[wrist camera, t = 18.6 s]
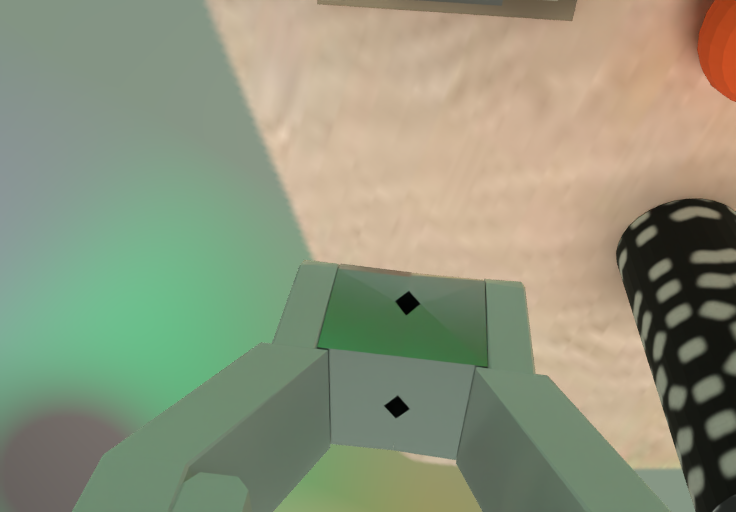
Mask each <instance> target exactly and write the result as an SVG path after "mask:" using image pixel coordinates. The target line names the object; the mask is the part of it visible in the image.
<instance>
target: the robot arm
mask: <svg viewBox="0 0 736 512" xmlns="http://www.w3.org/2000/svg"><path fill="white" fill-rule="evenodd" d="M330 444H338V445H348V446H358V447H368V448H378V449H387V450H396V451H402V452H408V453H414V454H421V455H427V456H434V457H440V458H447V459H453V460H457V461H456V464H457V466H458V468H459V469H460V471H461V473H462V475H463V477H464V478H465V480H466V482H467V484H468V486H469V487H470V489H471V491H472V493H473V495H474V497H475V498H476V500H477V502H478V504H479V506H480V508H481V509H482V511H483V512H671V511H670V510H669V509H668V507H667V506H666V505H665V504H664V503H663V502H662V501H661V500H660V499H659V498H658V497H657V495H656V494H655V493H654V492H653V491H652V490H651V489H650V488H649V487H648V485H647V484H646V483H645V482H644V481H643V480H642V479H641V478H640V477H639V476H638V474H637V473H636V472H635V471H634V470H633V469H632V468H631V467H630V466H629V465H628V463H627V462H626V461H625V460H624V459H623V458H622V457H621V456H620V455H619V454H618V452H617V451H616V450H615V449H614V448H613V447H612V446H611V445H610V444H609V443H608V442H607V440H606V439H605V438H604V437H603V436H602V435H601V434H600V433H599V432H598V431H597V429H596V428H595V427H594V426H593V425H592V424H591V423H590V422H589V421H588V420H587V418H586V417H585V416H584V415H583V414H582V413H581V412H580V411H579V410H578V409H577V407H576V406H575V405H574V404H573V403H572V402H571V401H570V400H569V399H568V398H567V396H566V395H565V394H564V393H563V392H562V391H561V390H560V389H559V388H558V387H557V386H556V384H555V383H554V382H553V381H552V380H551V379H550V378H549V377H548V376H546V375H538V374H535V366H534V357H533V349H532V341H531V333H530V325H529V317H528V309H527V301H526V292H525V286H524V285H523V284H522V282H516V281H504V280H491V279H484V280H480V279H470V278H460V277H450V276H439V275H429V274H419V273H411V272H403V271H395V270H387V269H379V268H371V267H363V266H355V265H347V264H340V265H339V264H335V263H327V262H319V261H310V260H304V261H303V263H302V264H301V265H300V266H299V268H298V271H297V274H296V277H295V280H294V283H293V285H292V288H291V291H290V294H289V297H288V299H287V303H286V305H285V308H284V311H283V314H282V316H281V319H280V322H279V325H278V328H277V331H276V333H275V336H274V339H273V342H272V344H270V343H259V344H258V345H257V346H255V347H254V348H252V349H251V350H250V351H248V352H247V353H245V354H244V355H243V356H241V357H240V358H238V359H237V360H236V361H234V362H233V363H231V364H230V365H229V366H227V367H226V368H224V369H223V370H221V371H220V372H219V373H217V374H216V375H214V376H213V377H212V378H210V379H209V380H208V381H206V382H205V383H203V384H202V385H200V386H199V387H198V388H197V389H195V390H193V391H192V392H191V393H189V394H188V395H187V396H185V397H184V398H182V399H181V400H180V401H178V402H177V403H175V404H174V405H172V406H171V407H170V408H168V409H167V410H165V411H164V412H163V413H161V414H160V415H158V416H157V417H156V418H154V419H153V420H151V421H150V422H148V423H147V424H146V425H144V426H143V427H141V428H140V429H139V430H137V431H136V432H134V433H133V434H132V435H130V436H129V437H127V438H126V439H125V440H123V441H122V442H120V443H119V444H118V445H116V446H115V447H113V448H112V449H111V450H109V451H108V452H107V453H105V454H104V455H103V456H102V458H101V460H100V461H99V463H98V465H97V467H96V469H95V470H94V472H93V474H92V476H91V478H90V480H89V482H88V483H87V485H86V487H85V489H84V490H83V493H82V494H81V496H80V498H79V500H78V501H77V503H76V505H75V507H74V509H73V510H72V512H273V511H274V510H275V509H276V508H277V506H278V505H279V504H280V503H281V502H282V501H283V500H284V499H285V498H286V496H287V495H288V494H289V493H290V492H291V491H292V490H293V489H294V487H295V486H296V485H297V484H298V483H299V482H300V481H301V480H302V478H303V477H304V476H305V475H306V474H307V473H308V472H309V470H311V468H312V467H313V466H314V465H315V464H316V463H317V462H318V461H319V459H320V458H321V457H322V456H323V455H324V454H325V453H326V452H327V450H328V449H329V448H330ZM393 445H394V447H393Z"/></svg>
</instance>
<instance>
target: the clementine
mask: <svg viewBox="0 0 736 512" xmlns="http://www.w3.org/2000/svg"><path fill="white" fill-rule="evenodd" d="M697 50H698V55H699V60H700V65H701V67H702V70H703V72H704V74H705V76H706V77H707V79H708V81H709V82H710V84H711V85H712V86H713V87H714V88H715V89H717V90H718V91H719V92H720V93H722V94H723V95H724V96H726V97H727V98H729V99H730V100H732V101H735V102H736V0H715V1H714V2H713V4H712V5H711V7H710V8H709V10H708V11H707V13H706V16H705V19H704V21H703V24H702V26H701V29H700V32H699V39H698V48H697Z"/></svg>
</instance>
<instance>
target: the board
mask: <svg viewBox="0 0 736 512" xmlns="http://www.w3.org/2000/svg"><path fill="white" fill-rule="evenodd" d="M576 2H577V0H317V4H323V5H338V6H353V7H368V8H384V9H399V10H414V11H429V12H444V13H459V14H474V15H489V16H504V17H519V18H534V19H549V20H565V21H572V19H573V15H574V11H575V6H576Z"/></svg>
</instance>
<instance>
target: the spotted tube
mask: <svg viewBox="0 0 736 512" xmlns="http://www.w3.org/2000/svg"><path fill="white" fill-rule="evenodd" d="M616 257H617V265H618V268H619V271H620V274H621V277H622V280H623V284H624V287H625V290H626V293H627V296H628V299H629V303H630V306H631V309H632V312H633V315H634V318H635V322H636V325H637V328H638V331H639V334H640V337H641V341H642V344H643V347H644V350H645V353H646V356H647V360H648V363H649V366H650V369H651V372H652V375H653V379H654V382H655V385H656V388H657V391H658V394H659V398H660V401H661V404H662V407H663V410H664V413H665V417H666V420H667V423H668V426H669V429H670V432H671V436H672V439H673V442H674V445H675V448H676V451H677V455H678V458H679V461H680V464H681V467H682V470H683V473H684V477H685V480H686V483H687V486H688V489H689V492H690V496H691V499H692V502H693V505H694V508H695V511H696V512H736V212H735V211H734V210H732V209H731V208H729V207H728V206H726V205H724V204H721V203H718V202H715V201H710V200H704V199H685V200H679V201H673V202H670V203H667V204H663V205H661V206H658V207H656V208H654V209H652V210H650V211H648V212H647V213H645V214H644V215H642V216H641V217H639V218H638V219H637V220H636V221H634V222H633V223H632V224H631V225H630V226H629V227H628V229H627V230H626V231H625V233H624V234H623V236H622V238H621V240H620V242H619V244H618V248H617V253H616Z"/></svg>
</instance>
